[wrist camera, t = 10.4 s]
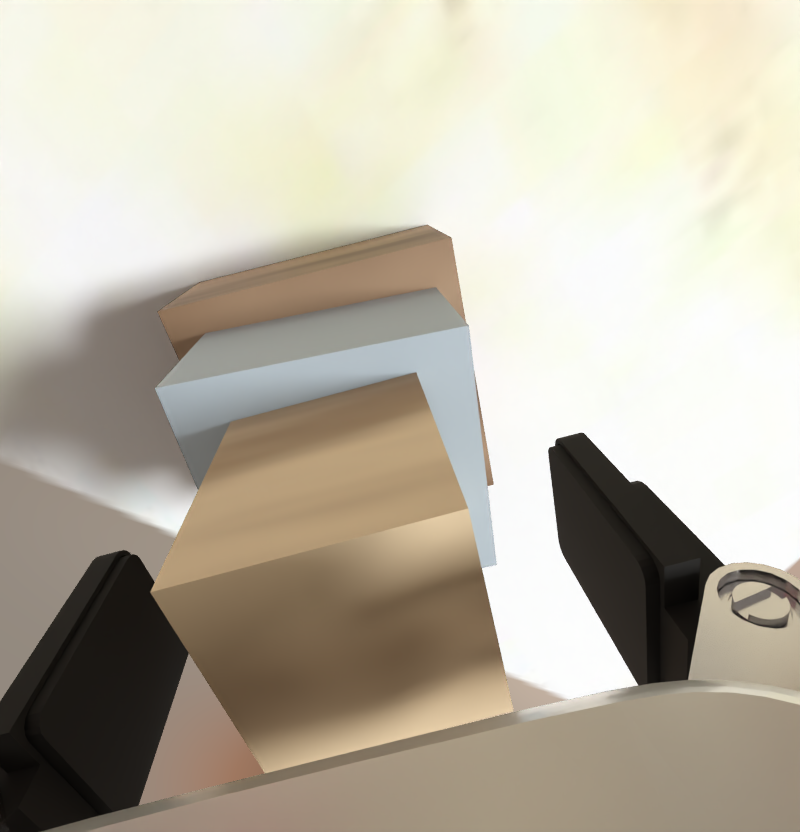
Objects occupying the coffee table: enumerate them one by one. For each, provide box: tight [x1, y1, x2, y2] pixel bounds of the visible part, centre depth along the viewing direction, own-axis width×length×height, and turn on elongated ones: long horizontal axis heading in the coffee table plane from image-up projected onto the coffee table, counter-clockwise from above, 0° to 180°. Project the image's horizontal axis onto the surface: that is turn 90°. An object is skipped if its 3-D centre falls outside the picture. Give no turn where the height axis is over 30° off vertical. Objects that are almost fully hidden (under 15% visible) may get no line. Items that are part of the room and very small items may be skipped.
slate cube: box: [155, 287, 497, 568], centre depth 16 cm, size 8×8×5 cm
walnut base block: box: [158, 225, 493, 486], centre depth 21 cm, size 10×10×6 cm
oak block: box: [150, 372, 513, 773], centre depth 11 cm, size 5×5×6 cm
